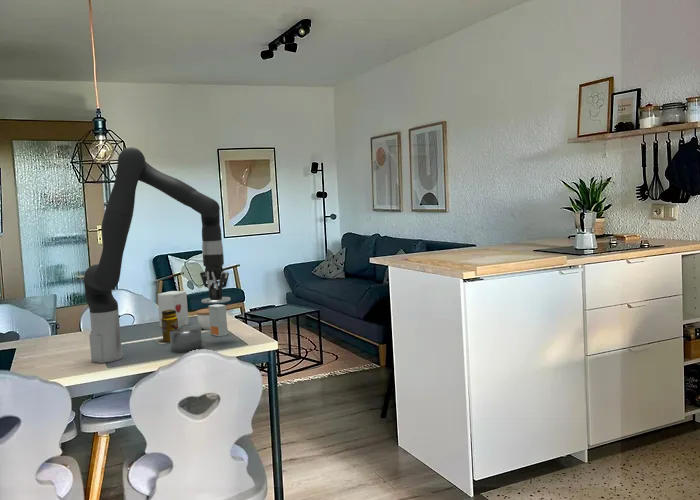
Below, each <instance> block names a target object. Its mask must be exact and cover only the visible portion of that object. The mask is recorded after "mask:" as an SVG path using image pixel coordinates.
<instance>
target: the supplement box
mask: <svg viewBox="0 0 700 500" xmlns="http://www.w3.org/2000/svg"><path fill="white" fill-rule="evenodd" d="M157 307H158V317H159V318H158V319H159V328H161V329H162V321H161V319H162V311H165V310H176V316H177V319H178V328H182V327H185V326H187V325H190V324H189V323H190V321H189V312H188V311H189V310H188V298H187V291H186V290H181V291H180V290H171V291H170V290H169V291H166V292H161V293H157Z"/></svg>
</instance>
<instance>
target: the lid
mask: <svg viewBox="0 0 700 500" xmlns="http://www.w3.org/2000/svg"><path fill="white" fill-rule="evenodd" d="M216 290H217V289H216V287H215V288H212V289H211V293H212V299H210V297H207V298H202V299H201V304H208V305H209V304H210V305H213V304H222V303H227V302H230V301H231V297H230V296H222V299H219V300H217V299H216Z"/></svg>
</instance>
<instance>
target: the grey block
mask: <svg viewBox="0 0 700 500" xmlns="http://www.w3.org/2000/svg"><path fill="white" fill-rule="evenodd" d="M170 341H171V343H170V351H171V352H172V353H175V354H187V353H186V352H188V353H190V352H189V351H192V350H196V349H200V350H202V349H203V337H202V327H200V326H199V327H197V326H187V327H185V326H184V327H178V329H174V330H171V331H170Z"/></svg>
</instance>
